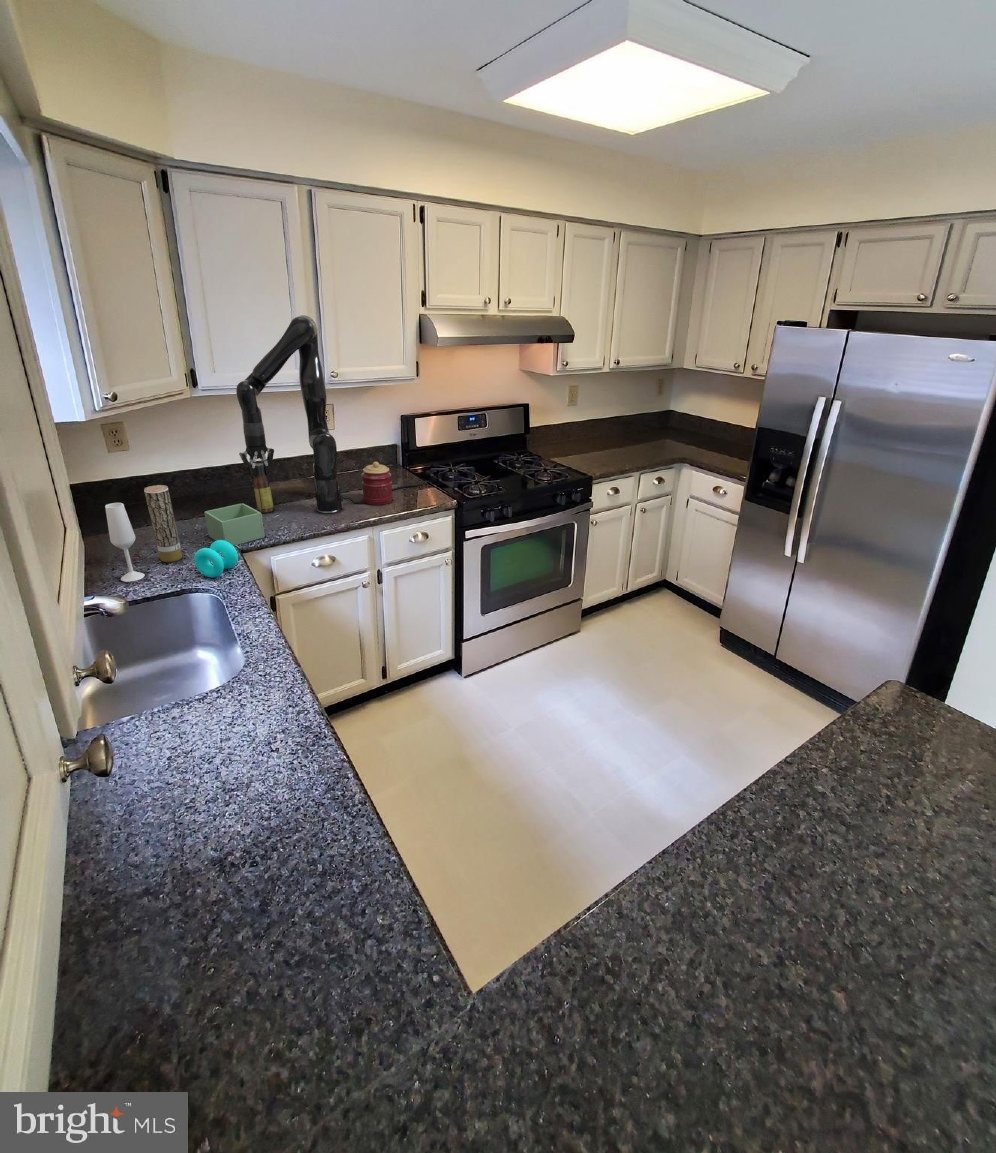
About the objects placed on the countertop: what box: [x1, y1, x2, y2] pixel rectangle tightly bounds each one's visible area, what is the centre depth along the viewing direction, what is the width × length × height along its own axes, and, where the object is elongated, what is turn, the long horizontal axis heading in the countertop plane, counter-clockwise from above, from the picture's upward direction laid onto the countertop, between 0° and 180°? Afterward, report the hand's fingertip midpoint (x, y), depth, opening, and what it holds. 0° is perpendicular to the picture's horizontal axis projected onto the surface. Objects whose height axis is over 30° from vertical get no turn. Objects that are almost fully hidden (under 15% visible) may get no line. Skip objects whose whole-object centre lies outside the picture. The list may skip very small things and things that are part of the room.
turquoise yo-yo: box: [193, 540, 239, 578], centre depth 193 cm, size 10×10×10 cm
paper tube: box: [143, 484, 183, 563], centre depth 197 cm, size 7×7×25 cm
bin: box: [204, 503, 266, 547], centre depth 220 cm, size 15×15×10 cm
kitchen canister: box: [360, 461, 394, 506], centre depth 261 cm, size 13×13×18 cm
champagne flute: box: [104, 502, 146, 583], centre depth 184 cm, size 7×7×24 cm
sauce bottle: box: [252, 462, 274, 514], centre depth 243 cm, size 7×6×20 cm
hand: (260, 475), depth 241 cm, fingers closed on sauce bottle, 4 cm apart
